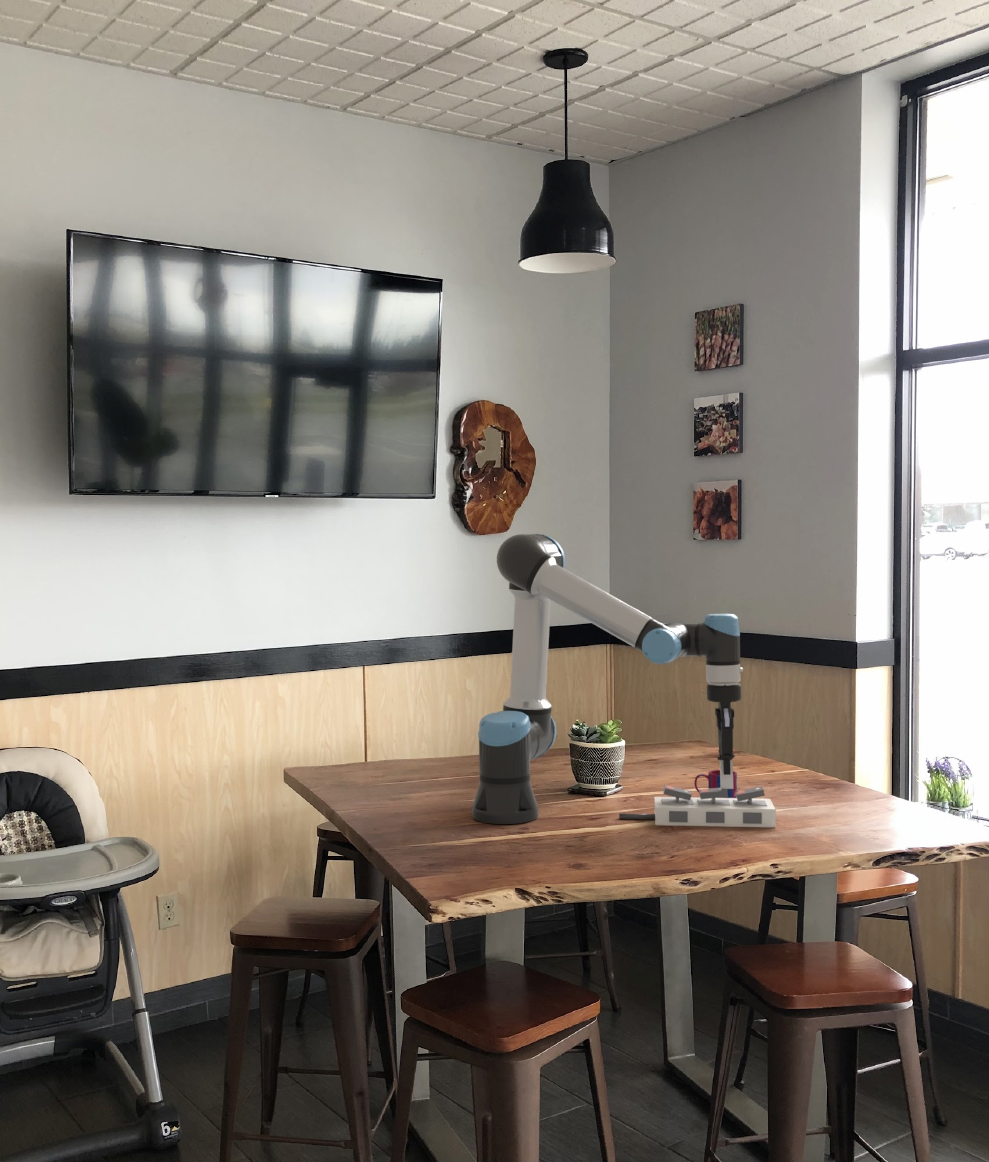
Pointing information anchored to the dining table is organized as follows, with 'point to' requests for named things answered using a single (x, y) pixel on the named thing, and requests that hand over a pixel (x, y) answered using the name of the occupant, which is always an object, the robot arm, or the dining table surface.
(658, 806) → the strip
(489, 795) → the robot arm
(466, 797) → the dining table surface
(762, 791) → the rocker right
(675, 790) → the rocker left
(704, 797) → the rocker mid
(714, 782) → the mug
